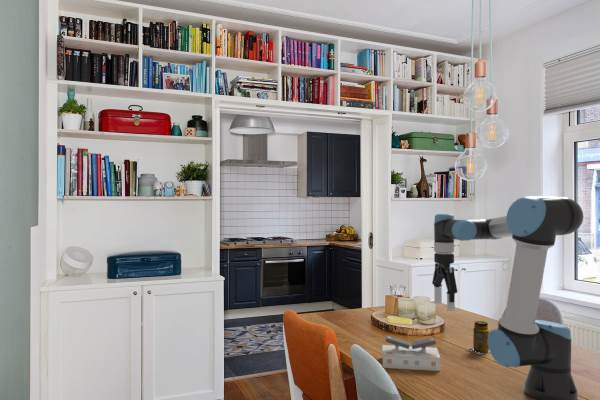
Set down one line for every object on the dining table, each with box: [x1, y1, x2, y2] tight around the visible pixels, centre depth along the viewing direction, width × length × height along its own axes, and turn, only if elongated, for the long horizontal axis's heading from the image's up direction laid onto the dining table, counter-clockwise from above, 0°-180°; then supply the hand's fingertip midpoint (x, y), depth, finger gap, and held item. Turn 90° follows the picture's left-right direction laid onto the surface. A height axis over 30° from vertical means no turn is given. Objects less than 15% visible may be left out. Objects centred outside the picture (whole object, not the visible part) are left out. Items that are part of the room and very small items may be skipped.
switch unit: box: [382, 344, 441, 372], centre depth 183 cm, size 12×21×7 cm, turn 80°
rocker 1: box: [384, 335, 411, 349], centre depth 184 cm, size 4×9×2 cm, turn 80°
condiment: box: [466, 320, 491, 356], centre depth 199 cm, size 7×8×12 cm
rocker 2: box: [410, 337, 437, 349], centre depth 182 cm, size 4×9×2 cm, turn 80°
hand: (444, 306), depth 188 cm, fingers open, 13 cm apart
